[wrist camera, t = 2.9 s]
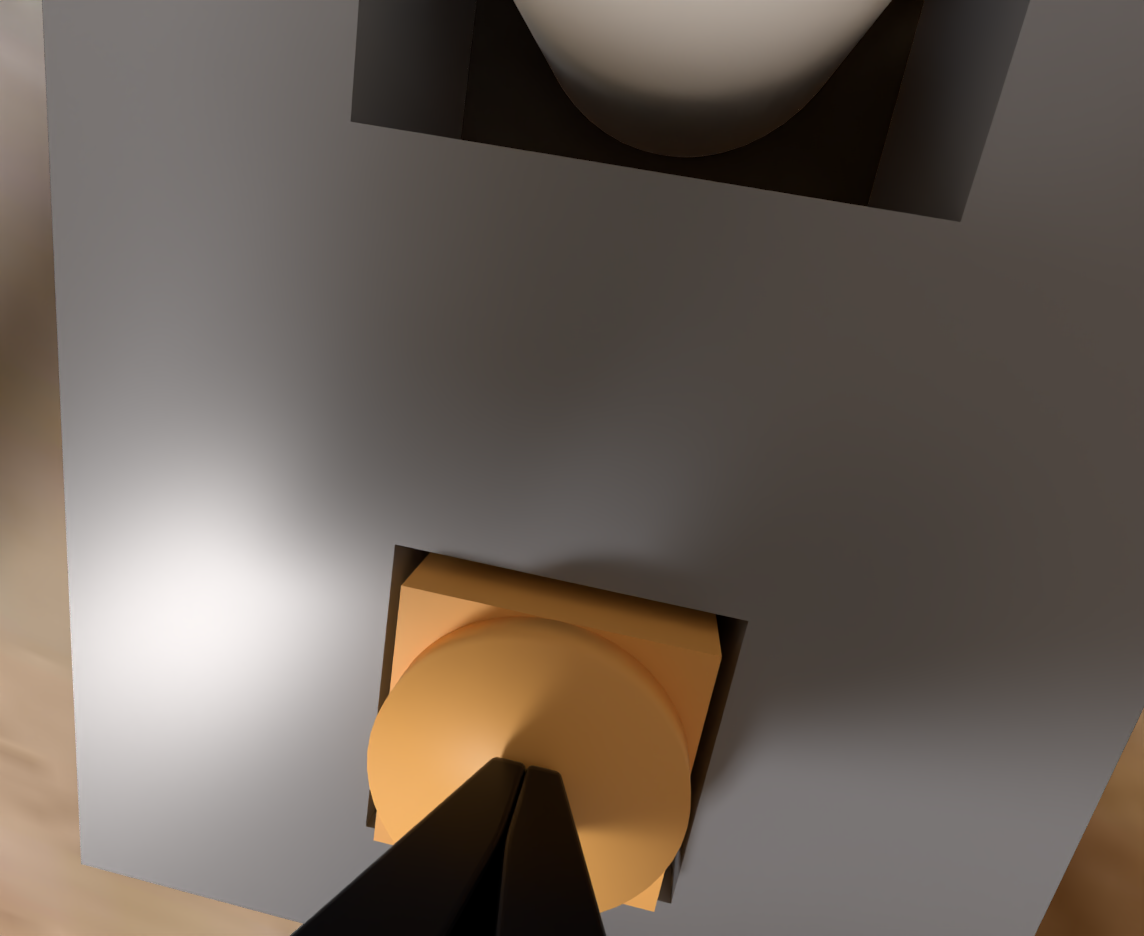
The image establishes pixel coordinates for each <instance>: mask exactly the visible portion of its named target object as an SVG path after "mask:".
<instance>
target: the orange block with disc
mask: <svg viewBox="0 0 1144 936" xmlns="http://www.w3.org/2000/svg"><path fill="white" fill-rule="evenodd" d="M721 658H722V654H721V647H720V640H719V633H718V626H717V619H716V614H714V613H709V612H704V611H700V610H695V609H691V608H686V607H681V606H677V605H672V604H668V603H663V602H658V601H654V600H649V599H645V598H640V597H635V596H631V595H626V594H622V593H617V592H612V591H608V590H603V589H599V588H594V587H589V586H585V585H580V584H576V583H571V582H566V581H562V580H557V579H552V578H548V577H543V576H539V575H534V574H529V573H525V572H520V571H516V570H511V569H506V568H502V567H497V566H493V565H488V564H483V563H479V562H474V561H470V560H465V559H460V558H456V557H451V556H447V555H442V554H437V553H433V552H430V553H429V554H428V555H427V556H426V558H425V559H424V560H423V561H422V562H421V563H420V564H419V566H418V567H417V568H416V569H415V570H414V571H413V572H412V574H411V575H410V576H409V577H408V578H407V579H406V580H405V582H404V583H403V584H402V585H401V591H400V600H399V610H398V619H397V628H396V637H395V647H394V656H393V665H392V674H391V683H390V693H389V695H388V697H387V698H386V700H385V701H384V703H383V705H382V707H381V709H380V711H379V713H378V715H377V716H376V719H375V722H374V725H373V728H372V731H371V733H370V739H369V745H368V750H367V773H368V781H369V787H370V791H371V795H372V799H373V802H374V805H375V807H376V810H377V813H376V822H375V831H374V841H378V842H382V843H386V844H390V845H394V844H395V843H396V842H397V841H398V840H399V839H400V838H402V837H403V836H404V835H405V834H406V833H407V832H408V831H410V830H411V829H412V828H413V827H414V826H415V825H416V824H418V823H419V822H420V821H421V820H422V819H423V818H424V817H426V816H427V815H428V814H429V813H430V812H431V811H432V810H434V809H435V808H436V807H437V806H438V805H439V804H440V803H441V802H443V801H444V800H445V799H446V798H447V797H448V796H449V795H451V794H452V793H453V792H454V791H455V790H456V789H457V788H459V787H460V786H461V785H462V784H463V783H464V782H465V781H467V780H468V779H469V778H470V777H471V776H472V775H473V774H475V773H476V772H477V771H478V770H479V769H480V768H481V767H482V766H484V765H485V764H486V763H487V762H488V761H489V760H491V759H492V758H494V757H500V758H505V759H509V760H513V761H517V762H521V763H523V764H524V765H525V768H526V769H527V768H528V767H529V766H531V765H533V766H538V767H542V768H546V769H550V770H554V771H557V772H559V773H560V774H561V776H562V779H563V782H564V786H565V790H566V793H567V797H568V800H569V804H570V807H571V811H572V815H573V818H574V822H575V825H576V829H577V832H578V836H579V839H580V843H581V847H582V850H583V854H584V857H585V861H586V864H587V868H588V872H589V875H590V879H591V882H592V886H593V889H594V893H595V896H596V900H597V904H598V907H599V911H600V913H601V912H604V911H607V910H610V909H612V908H615V907H617V906H619V905H621V904H625V905H629V906H633V907H637V908H641V909H645V910H649V911H653V912H654V911H655V907H656V903H657V899H658V896H659V892H660V888H661V884H662V880H663V877H664V873H665V870H666V869H667V867H668V866H669V865H670V864H671V862H672V861H673V859H674V857H675V856H676V854H677V852H678V850H679V848H680V847H681V844H682V841H683V839H684V836H685V833H686V830H687V827H688V821H689V816H690V807H691V784H690V775H691V771H692V767H693V764H694V760H695V756H696V752H697V749H698V745H699V741H700V737H701V734H702V730H703V726H704V722H705V718H706V715H707V711H708V707H709V703H710V700H711V696H712V692H713V688H714V685H715V681H716V677H717V673H718V670H719V666H720V662H721Z"/></svg>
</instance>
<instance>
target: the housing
mask: <svg viewBox="0 0 1144 936" xmlns="http://www.w3.org/2000/svg"><path fill="white" fill-rule="evenodd" d="M476 2H477V0H42V9H43V31H44V53H45V75H46V98H47V120H48V142H49V164H50V186H51V208H52V230H53V252H54V274H55V296H56V318H57V340H58V362H59V384H60V406H61V428H62V450H63V472H64V494H65V516H66V538H67V560H68V583H69V605H70V627H71V649H72V671H73V693H74V715H75V737H76V759H77V781H78V803H79V825H80V847H81V864H83V865H87V866H91V867H94V868H98V869H102V870H106V871H109V872H113V873H117V874H121V875H124V876H128V877H132V878H136V879H139V880H143V881H147V882H150V883H154V884H158V885H162V886H165V887H169V888H173V889H177V890H180V891H184V892H188V893H191V894H195V895H199V896H203V897H206V898H210V899H214V900H218V901H221V902H225V903H229V904H232V905H236V906H240V907H244V908H247V909H251V910H255V911H259V912H262V913H266V914H270V915H273V916H277V917H281V918H285V919H288V920H292V921H296V922H300V923H303V924H304V923H305V922H306V921H307V920H308V919H309V918H311V917H312V916H313V915H314V914H315V913H316V912H317V911H318V910H320V909H321V908H322V907H323V906H324V905H325V904H326V903H328V902H329V901H330V900H331V899H332V898H333V897H334V896H336V895H337V894H338V893H339V892H340V891H341V890H342V889H344V888H345V887H346V886H347V885H348V884H349V883H350V882H352V881H353V880H354V879H355V878H356V877H357V876H358V875H359V874H361V873H362V872H363V871H364V870H365V869H366V868H367V867H369V866H370V865H371V864H372V863H373V862H374V861H375V860H377V859H378V858H379V857H380V856H381V855H382V854H383V853H385V852H386V851H387V850H388V849H389V848H390V847H391V846H393V845H390V844H386V843H382V842H378V841H374V831H375V822H376V813H377V810H376V807H375V805H374V802H373V799H372V795H371V791H370V787H369V781H368V773H367V750H368V745H369V739H370V733H371V731H372V728H373V725H374V722H375V719H376V716H377V715H378V713H379V711H380V709H381V707H382V705H383V703H384V701H385V700H386V698H387V697H388V695H389V693H390V683H391V674H392V665H393V656H394V647H395V637H396V628H397V619H398V610H399V600H400V591H401V585H402V584H403V583H404V582H405V580H406V579H407V578H408V577H409V576H410V575H411V574H412V572H413V571H414V570H415V569H416V568H417V567H418V566H419V564H420V563H421V562H422V561H423V560H424V559H425V558H426V556H427V555H428V554H429V553H430V552H433V553H437V554H442V555H447V556H451V557H456V558H460V559H465V560H470V561H474V562H479V563H483V564H488V565H493V566H497V567H502V568H506V569H511V570H516V571H520V572H525V573H529V574H534V575H539V576H543V577H548V578H552V579H557V580H562V581H566V582H571V583H576V584H580V585H585V586H589V587H594V588H599V589H603V590H608V591H612V592H617V593H622V594H626V595H631V596H635V597H640V598H645V599H649V600H654V601H658V602H663V603H668V604H672V605H677V606H681V607H686V608H691V609H695V610H700V611H704V612H709V613H714V614H716V619H717V626H718V633H719V640H720V647H721V654H722V658H721V662H720V666H719V670H718V673H717V677H716V681H715V685H714V688H713V692H712V696H711V700H710V703H709V707H708V711H707V715H706V718H705V722H704V726H703V730H702V734H701V737H700V741H699V745H698V749H697V752H696V756H695V760H694V764H693V767H692V771H691V775H690V784H691V807H690V816H689V821H688V827H687V830H686V833H685V836H684V839H683V841H682V844H681V847H680V848H679V850H678V852H677V854H676V856H675V857H674V859H673V861H672V862H671V864H670V865H669V866H668V867H667V869H666V870H665V873H664V877H663V880H662V884H661V888H660V892H659V896H658V899H657V903H656V907H655V911H654V912H653V911H649V910H645V909H641V908H637V907H633V906H629V905H625V904H621V905H619V906H617V907H615V908H612V909H610V910H607V911H604V912H601V913H600V914H601V918H602V921H603V925H604V929H605V932H606V936H1035V934H1036V932H1037V929H1038V927H1039V925H1040V923H1041V921H1042V919H1043V917H1044V915H1045V913H1046V911H1047V909H1048V906H1049V904H1050V902H1051V900H1052V898H1053V896H1054V894H1055V892H1056V890H1057V888H1058V886H1059V884H1060V881H1061V879H1062V877H1063V875H1064V873H1065V871H1066V869H1067V867H1068V865H1069V863H1070V861H1071V858H1072V856H1073V854H1074V852H1075V850H1076V848H1077V846H1078V844H1079V842H1080V840H1081V838H1082V835H1083V833H1084V831H1085V829H1086V827H1087V825H1088V823H1089V821H1090V819H1091V817H1092V815H1093V813H1094V810H1095V808H1096V806H1097V804H1098V802H1099V800H1100V798H1101V796H1102V794H1103V792H1104V790H1105V787H1106V785H1107V783H1108V781H1109V779H1110V777H1111V775H1112V773H1113V771H1114V769H1115V767H1116V764H1117V762H1118V760H1119V758H1120V756H1121V754H1122V752H1123V750H1124V748H1125V746H1126V744H1127V742H1128V739H1129V737H1130V735H1131V733H1132V731H1133V729H1134V727H1135V725H1136V723H1137V721H1138V719H1139V716H1140V714H1141V712H1142V710H1143V708H1144V0H924V3H923V6H922V10H921V13H920V17H919V21H918V24H917V28H916V32H915V35H914V39H913V42H912V46H911V50H910V53H909V57H908V61H907V64H906V68H905V71H904V75H903V79H902V82H901V86H900V90H899V93H898V97H897V100H896V104H895V108H894V111H893V115H892V119H891V122H890V126H889V129H888V133H887V137H886V140H885V144H884V148H883V151H882V155H881V158H880V162H879V166H878V169H877V173H876V177H875V180H874V184H873V188H872V191H871V195H870V198H869V202H868V206H867V207H866V206H860V205H854V204H848V203H842V202H835V201H829V200H823V199H817V198H811V197H805V196H799V195H793V194H787V193H781V192H775V191H769V190H763V189H757V188H750V187H744V186H738V185H732V184H726V183H720V182H714V181H708V180H702V179H696V178H690V177H684V176H678V175H672V174H666V173H659V172H653V171H647V170H641V169H635V168H629V167H623V166H617V165H611V164H605V163H599V162H593V161H587V160H581V159H574V158H568V157H562V156H556V155H550V154H544V153H538V152H532V151H526V150H520V149H514V148H508V147H502V146H496V145H490V144H483V143H477V142H471V141H465V140H461V135H462V126H463V117H464V108H465V99H466V90H467V82H468V73H469V64H470V55H471V46H472V37H473V28H474V20H475V11H476Z"/></svg>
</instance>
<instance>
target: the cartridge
mask: <svg viewBox="0 0 1144 936" xmlns="http://www.w3.org/2000/svg"><path fill="white" fill-rule="evenodd" d="M891 1H892V0H514V2H515V4H516V6H517V8H518V10H519V11H520V13H521V15H522V17H523V19H524V20H525V22H526V24H527V26H528V28H529V30H530V31H531V33H532V35H533V37H534V39H535V40H536V42H537V44H538V46H539V48H540V50H541V51H542V53H543V55H544V57H545V59H546V60H547V62H548V64H549V66H550V68H551V70H552V71H553V73H554V75H555V77H556V78H557V80H558V82H559V84H560V86H561V87H562V89H563V90H564V92H565V93H566V94H567V96H568V97H569V98H570V100H571V101H572V102H573V104H574V105H575V106H576V107H577V108H578V109H579V110H580V111H581V112H582V113H583V114H584V115H585V116H586V117H587V118H588V119H589V121H591V122H592V123H593V124H595V125H596V126H597V127H598V128H600V129H601V130H602V131H604V132H605V133H606V134H608V135H610V136H612V137H613V138H615V139H617V140H619V141H620V142H622V143H624V144H627V145H629V146H632V147H634V148H637V149H639V150H642V151H645V152H650V153H654V154H658V155H662V156H673V157H700V156H708V155H713V154H718V153H724V152H727V151H730V150H733V149H736V148H739V147H742V146H745V145H747V144H749V143H751V142H753V141H756V140H758V139H760V138H762V137H764V136H766V135H767V134H769V133H770V132H772V131H773V130H775V129H777V128H778V127H780V126H781V125H783V124H784V123H786V122H787V121H788V120H789V119H790V118H792V117H793V116H794V115H795V114H796V113H798V112H799V111H800V110H801V109H802V108H803V107H804V106H805V105H806V104H807V103H808V102H809V101H810V100H811V99H812V98H813V97H814V96H815V95H816V94H817V93H818V92H819V90H820V89H821V88H822V87H823V86H824V84H825V83H826V82H827V81H828V79H829V78H830V77H831V76H832V74H833V73H834V72H835V71H836V69H837V68H838V67H839V66H840V64H841V63H842V62H843V61H844V59H845V58H846V57H847V56H848V54H849V53H850V52H851V51H852V49H853V48H854V47H855V46H856V44H857V43H858V42H859V41H860V39H861V38H862V37H863V36H864V34H865V33H866V32H867V31H868V29H869V28H870V27H871V26H872V24H873V23H874V22H875V21H876V19H877V18H878V17H879V16H880V14H881V13H882V12H883V11H884V9H885V8H886V7H887V6H888V4H889V3H890V2H891Z"/></svg>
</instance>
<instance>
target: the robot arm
mask: <svg viewBox="0 0 1144 936" xmlns="http://www.w3.org/2000/svg"><path fill="white" fill-rule="evenodd" d="M290 936H606V932H605V929H604V925H603V921H602V918H601V914H600V911H599V907H598V904H597V900H596V896H595V893H594V889H593V886H592V882H591V879H590V875H589V872H588V868H587V864H586V861H585V857H584V854H583V850H582V847H581V843H580V839H579V836H578V832H577V829H576V825H575V822H574V818H573V815H572V811H571V807H570V804H569V800H568V797H567V793H566V790H565V786H564V782H563V779H562V776H561V774H560V773H559V772H557V771H554V770H550V769H546V768H542V767H538V766H533V765H531V766H529V767H528V768H527V769H526V768H525V765H524V764H523V763H521V762H517V761H513V760H509V759H505V758H500V757H494V758H492V759H491V760H489V761H488V762H487V763H486V764H485V765H484V766H482V767H481V768H480V769H479V770H478V771H477V772H476V773H475V774H473V775H472V776H471V777H470V778H469V779H468V780H467V781H465V782H464V783H463V784H462V785H461V786H460V787H459V788H457V789H456V790H455V791H454V792H453V793H452V794H451V795H449V796H448V797H447V798H446V799H445V800H444V801H443V802H441V803H440V804H439V805H438V806H437V807H436V808H435V809H434V810H432V811H431V812H430V813H429V814H428V815H427V816H426V817H424V818H423V819H422V820H421V821H420V822H419V823H418V824H416V825H415V826H414V827H413V828H412V829H411V830H410V831H408V832H407V833H406V834H405V835H404V836H403V837H402V838H400V839H399V840H398V841H397V842H396V843H395V844H394V845H393V846H391V847H390V848H389V849H388V850H387V851H386V852H385V853H383V854H382V855H381V856H380V857H379V858H378V859H377V860H375V861H374V862H373V863H372V864H371V865H370V866H369V867H367V868H366V869H365V870H364V871H363V872H362V873H361V874H359V875H358V876H357V877H356V878H355V879H354V880H353V881H352V882H350V883H349V884H348V885H347V886H346V887H345V888H344V889H342V890H341V891H340V892H339V893H338V894H337V895H336V896H334V897H333V898H332V899H331V900H330V901H329V902H328V903H326V904H325V905H324V906H323V907H322V908H321V909H320V910H318V911H317V912H316V913H315V914H314V915H313V916H312V917H311V918H309V919H308V920H307V921H306V922H305V923H304V924H303V925H301V926H300V927H299V928H298V929H297V930H296V931H295V932H293V933H292V934H291V935H290Z"/></svg>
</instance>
